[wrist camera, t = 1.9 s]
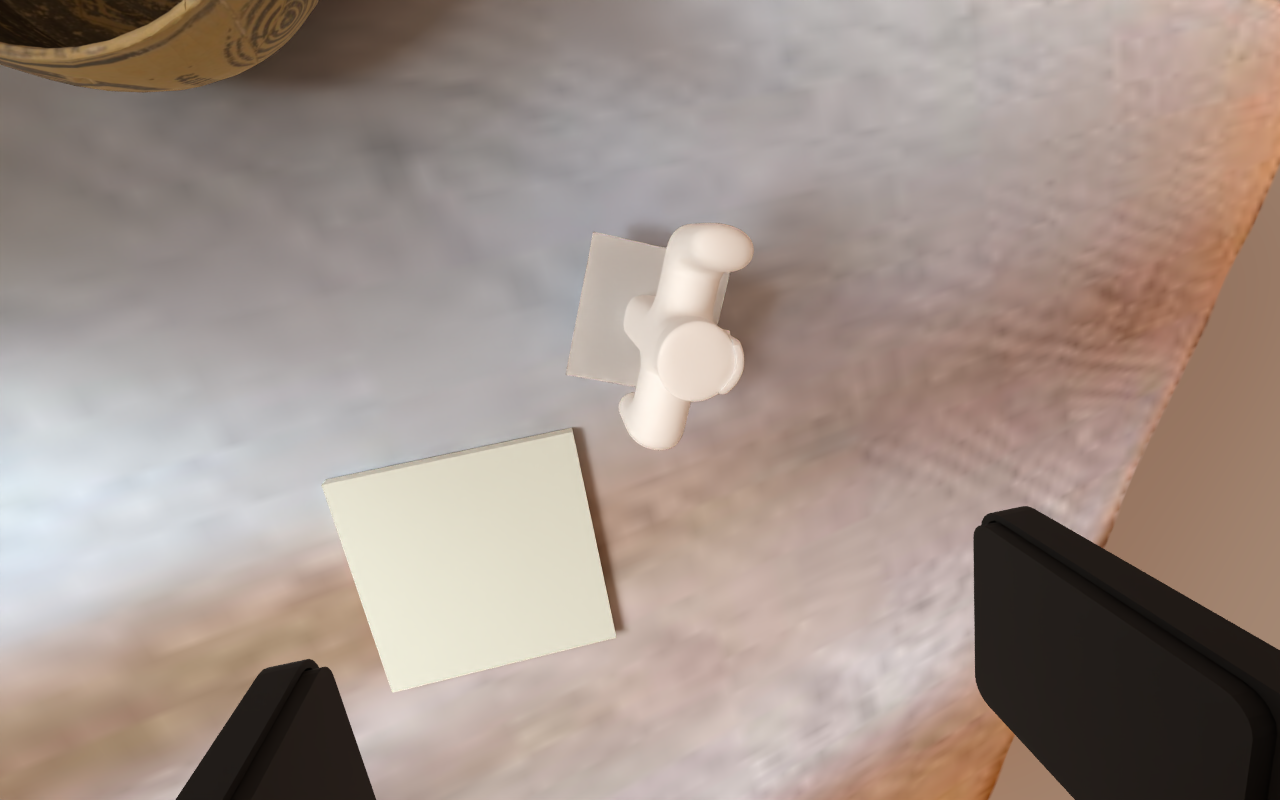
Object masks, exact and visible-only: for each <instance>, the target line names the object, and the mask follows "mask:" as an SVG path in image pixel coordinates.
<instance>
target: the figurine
mask: <svg viewBox="0 0 1280 800" xmlns="http://www.w3.org/2000/svg"><path fill="white" fill-rule="evenodd" d="M753 252H754V248H753V244H752V241H751V239H750V238H749V236H748V235H746V234H745V233H744V232H743V231H741V230H740V229H737V228H735V227H733V226H730V225H726V224H720V223H696V224H688V225H685V226H682V227H680V228H678V229H677V230H676V231H675V232H674V233H673V234H672V236H671V238H670V239H669V242H668V245H667V248H663V247H659V246H655V245H650V244H646V243H641V242H637V241H632V240H628V239H623V238H619V237H615V236H610V235H606V234H601V233H597V232H593V236H592V241H591V246H590V251H589V257H588V262H587V267H586V272H585V277H584V282H583V288H582V293H581V298H580V303H579V308H578V314H577V319H576V324H575V329H574V334H573V339H572V345H571V350H570V355H569V360H568V365H567V371H566V375H570V376H575V377H581V378H587V379H592V380H598V381H604V382H609V383H615V384H620V385H626V386H632V387H636V390H635V392H632V393H629V394H627V395H625V396H624V397H623V398H622V399H621V401H620V403H619V413H620V415H621V417H622V420H623V422H624V424H625V426H626V429H627V431H628V433H629V434H630V436H631V437H632V438H633V439H634V440H635V441H636V442H637V443H638V444H640V445H642V446H644V447H646V448H649V449H653V450H667V449H670V448H672V447H674V446H675V445H676V444H677V443H678V442H679V440H680V439H681V437H682V434H683V432H684V428H685V424H686V420H687V416H688V412H689V408H690V403H691V402H696V401H703V400H707V399H709V398H711V397H713V396H715V395H717V394H727V393H728V392H729V391H730V390H731V389H733V388H734V387H735V385H736V384H737V382H738V381H739V379H740V377H741V375H742V373H743V369H744V352H743V348H742V346H741V343H740V341H739V340H738V339H736V338H734V337H733V336H731V335H730V331H729V330H725V329H721V328H720V327H719V326H718V322H719V317H720V313H721V309H722V305H723V301H724V297H725V293H726V289H727V285H728V281H729V277H730V272H734V271H737V270H741V269H742V268H744V267H746V266H747V265H748V264H749V262H750V261H751V259H752V257H753Z"/></svg>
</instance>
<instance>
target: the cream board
mask: <svg viewBox="0 0 1280 800" xmlns="http://www.w3.org/2000/svg"><path fill="white" fill-rule="evenodd" d="M322 488H323V491H324V494H325V497H326V500H327V503H328V506H329V508H330V511H331V514H332V517H333V520H334V523H335V526H336V529H337V532H338V535H339V538H340V541H341V544H342V547H343V550H344V552H345V555H346V558H347V561H348V564H349V567H350V570H351V573H352V576H353V579H354V582H355V585H356V588H357V591H358V593H359V596H360V599H361V602H362V605H363V608H364V611H365V614H366V617H367V620H368V623H369V626H370V629H371V632H372V635H373V637H374V640H375V643H376V646H377V649H378V652H379V655H380V658H381V661H382V664H383V667H384V670H385V673H386V676H387V679H388V681H389V684H390V687H391V690H392V693H394V692H398V691H402V690H406V689H410V688H414V687H418V686H422V685H426V684H430V683H434V682H438V681H442V680H446V679H450V678H455V677H459V676H463V675H467V674H471V673H475V672H479V671H483V670H487V669H491V668H495V667H499V666H503V665H507V664H511V663H515V662H520V661H524V660H528V659H532V658H536V657H540V656H544V655H548V654H552V653H556V652H560V651H564V650H568V649H572V648H576V647H580V646H585V645H589V644H593V643H597V642H601V641H605V640H609V639H613V638H616V633H615V628H614V623H613V618H612V614H611V609H610V604H609V600H608V595H607V590H606V585H605V581H604V576H603V571H602V567H601V562H600V557H599V552H598V548H597V543H596V538H595V534H594V529H593V524H592V519H591V515H590V510H589V505H588V501H587V496H586V491H585V487H584V482H583V477H582V472H581V468H580V463H579V458H578V454H577V449H576V444H575V439H574V435H573V430H572V428H568V429H564V430H559V431H554V432H549V433H545V434H540V435H535V436H530V437H526V438H521V439H516V440H511V441H507V442H502V443H497V444H492V445H488V446H483V447H478V448H473V449H469V450H464V451H459V452H454V453H450V454H445V455H440V456H435V457H431V458H426V459H421V460H416V461H412V462H407V463H402V464H397V465H393V466H388V467H383V468H378V469H374V470H369V471H364V472H360V473H355V474H350V475H345V476H341V477H336V478H331V479H326V480H325V481H324V483H323V484H322Z"/></svg>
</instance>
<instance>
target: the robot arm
mask: <svg viewBox="0 0 1280 800" xmlns="http://www.w3.org/2000/svg"><path fill="white" fill-rule="evenodd" d="M974 615H975V678H976V683H977V686H978V689H979V691H980V694H981V696H982V697H983V699H984V701H985V702H986V703H987V704H988V706H989V707H990V708H991V709H992V710H993V711H994V712H995V713H996V714H997V715H998V717H999V718H1000V719H1001V720H1002V721H1003V722H1004V723H1005V724H1006V725H1007V726H1008V727H1009V728H1010V730H1011V731H1012V732H1013V733H1014V734H1015V735H1016V736H1017V737H1018V738H1019V739H1020V740H1021V741H1022V743H1023V744H1024V745H1025V746H1026V747H1027V748H1028V749H1029V750H1030V751H1031V752H1032V753H1033V754H1034V756H1035V757H1036V758H1037V759H1038V760H1039V761H1040V762H1041V763H1042V764H1043V765H1044V766H1045V768H1046V769H1047V770H1048V771H1049V772H1050V773H1051V774H1052V775H1053V776H1054V777H1055V778H1056V780H1057V781H1058V782H1059V783H1060V784H1061V785H1062V786H1063V787H1064V788H1065V789H1066V790H1067V792H1069V794H1070V795H1071V796H1072V797H1073V798H1074V799H1075V800H1280V650H1278V649H1276V648H1275V647H1273V646H1271V645H1269V644H1268V643H1266V642H1264V641H1263V640H1261V639H1259V638H1257V637H1256V636H1254V635H1252V634H1250V633H1249V632H1247V631H1245V630H1243V629H1242V628H1240V627H1238V626H1237V625H1235V624H1233V623H1231V622H1230V621H1228V620H1226V619H1224V618H1223V617H1221V616H1219V615H1217V614H1216V613H1214V612H1212V611H1210V610H1209V609H1207V608H1205V607H1203V606H1202V605H1200V604H1198V603H1197V602H1195V601H1193V600H1191V599H1189V598H1188V597H1186V596H1184V595H1183V594H1181V593H1179V592H1177V591H1176V590H1174V589H1172V588H1170V587H1169V586H1167V585H1165V584H1164V583H1162V582H1160V581H1158V580H1157V579H1155V578H1153V577H1151V576H1150V575H1148V574H1146V573H1145V572H1142V571H1141V570H1139V569H1138V568H1136V567H1134V566H1132V565H1131V564H1129V563H1127V562H1125V561H1124V560H1122V559H1120V558H1119V557H1117V556H1115V555H1113V554H1112V553H1110V552H1108V551H1106V550H1105V549H1103V548H1101V547H1099V546H1098V545H1096V544H1094V543H1092V542H1091V541H1089V540H1087V539H1086V538H1084V537H1082V536H1080V535H1079V534H1077V533H1075V532H1073V531H1072V530H1070V529H1068V528H1066V527H1065V526H1063V525H1061V524H1060V523H1058V522H1056V521H1054V520H1053V519H1051V518H1049V517H1047V516H1046V515H1044V514H1042V513H1040V512H1039V511H1037V510H1035V509H1033V508H1031V507H1028V506H1023V507H1017V508H1013V509H1008V510H1003V511H999V512H994V513H989V514H987V515H986V516H985V517H984V518H983V521H982V525H981V526H978V527H977V528H976V529H975V531H974ZM176 800H376V798H375V795H374V792H373V789H372V786H371V783H370V780H369V778H368V775H367V772H366V769H365V766H364V763H363V760H362V757H361V754H360V751H359V748H358V746H357V743H356V740H355V737H354V734H353V731H352V728H351V725H350V722H349V719H348V717H347V714H346V711H345V708H344V705H343V702H342V699H341V696H340V693H339V690H338V687H337V685H336V682H335V679H334V676H333V674H332V672H331V670H330V669H329V668H328V667H322V668H319V667H318V665H317V664H316V663H315V662H314V661H313V660H311V659H306V660H302V661H297V662H292V663H288V664H283V665H278V666H274V667H269V668H266V669H264V670H262V671H261V672H260V674H259V675H258V676H257V678H256V679H255V681H254V682H253V684H252V685H251V687H250V688H249V690H248V691H247V693H246V694H245V696H244V697H243V699H242V700H241V702H240V703H239V705H238V706H237V708H236V709H235V711H234V712H233V714H232V715H231V717H230V718H229V720H228V721H227V723H226V724H225V726H224V727H223V729H222V730H221V732H220V733H219V735H218V736H217V738H216V739H215V741H214V742H213V744H212V745H211V747H210V749H209V750H208V752H207V753H206V755H205V756H204V758H203V759H202V761H201V762H200V764H199V765H198V767H197V768H196V770H195V771H194V773H193V774H192V776H191V777H190V779H189V780H188V782H187V783H186V785H185V786H184V788H183V789H182V791H181V792H180V794H179V795H178V797H177V798H176Z"/></svg>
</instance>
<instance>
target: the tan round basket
mask: <svg viewBox="0 0 1280 800" xmlns="http://www.w3.org/2000/svg"><path fill="white" fill-rule="evenodd" d="M318 1H319V0H0V65H4V66H7V67H10V68H13V69H17V70H20V71H23V72H26V73H30V74H33V75H36V76H39V77H43V78H46V79H49V80H54V81H58V82H62V83H66V84H70V85H74V86H80V87H87V88H93V89H100V90H106V91H123V92H159V91H176V90H185V89H190V88H195V87H200V86H204V85H207V84H210V83H213V82H217V81H220V80H223V79H226V78H229V77H233V76H236V75H238V74H240V73H242V72H244V71H246V70H248V69H250V68H252V67H253V66H255V65H257V64H259V63H261V62H262V61H264V60H265V59H267V58H268V57H270V56H271V55H272V54H274V53H275V52H276V51H277V50H279V49H280V48H281V47H282V46H283V45H284V44H286V43H287V42H288V41H289V40H290V39H291V38H292V37H293V35H294V34H295V33H296V32H297V31H298V30H299V29H300V28H301V26H302V25H303V23H304V22H305V20H306V19H307V18H308V16H309V15H310V13H311V12H312V10H313V9H314V8H315V6H316V5H317V3H318Z"/></svg>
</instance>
